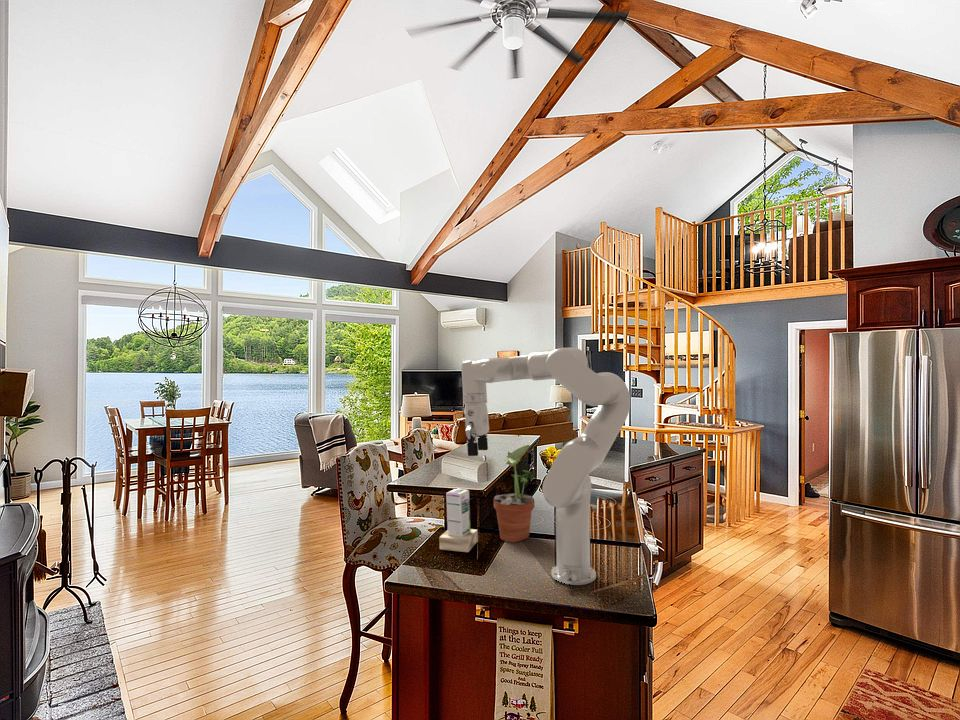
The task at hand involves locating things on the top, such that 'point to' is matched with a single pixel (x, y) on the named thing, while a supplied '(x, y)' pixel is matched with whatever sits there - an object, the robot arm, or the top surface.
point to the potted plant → (515, 504)
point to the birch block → (458, 541)
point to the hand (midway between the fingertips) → (478, 452)
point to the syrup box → (458, 512)
